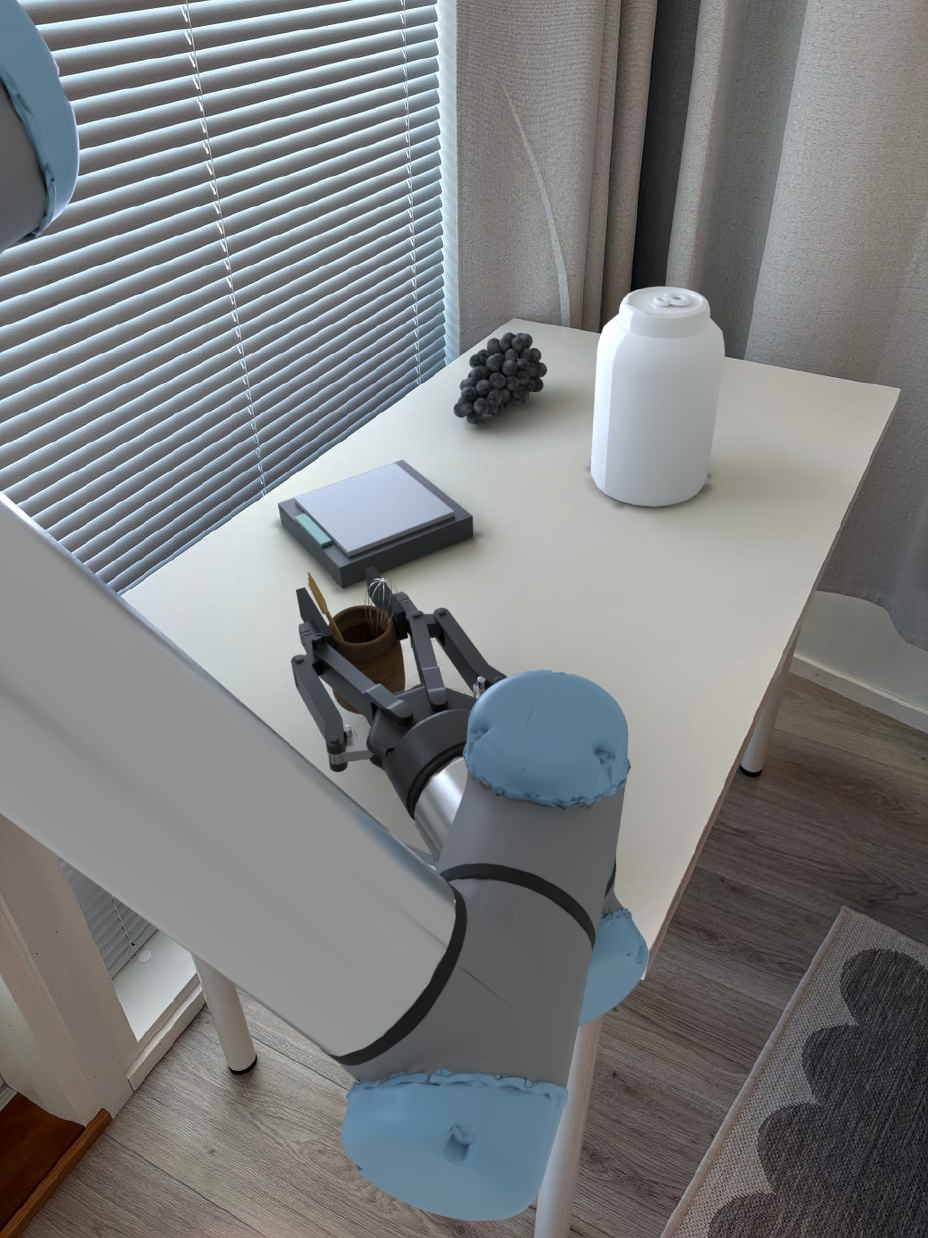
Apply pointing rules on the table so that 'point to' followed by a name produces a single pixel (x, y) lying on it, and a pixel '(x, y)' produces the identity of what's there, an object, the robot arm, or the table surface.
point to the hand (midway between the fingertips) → (337, 591)
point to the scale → (375, 522)
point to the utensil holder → (366, 642)
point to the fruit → (500, 377)
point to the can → (656, 397)
